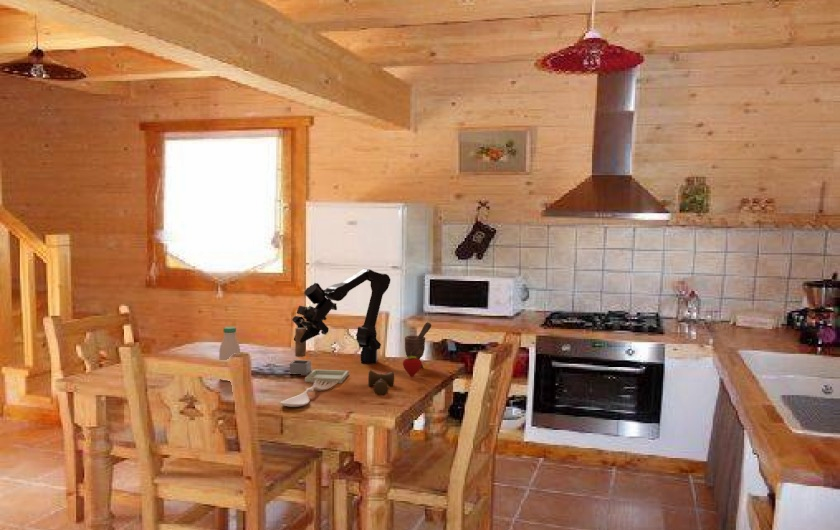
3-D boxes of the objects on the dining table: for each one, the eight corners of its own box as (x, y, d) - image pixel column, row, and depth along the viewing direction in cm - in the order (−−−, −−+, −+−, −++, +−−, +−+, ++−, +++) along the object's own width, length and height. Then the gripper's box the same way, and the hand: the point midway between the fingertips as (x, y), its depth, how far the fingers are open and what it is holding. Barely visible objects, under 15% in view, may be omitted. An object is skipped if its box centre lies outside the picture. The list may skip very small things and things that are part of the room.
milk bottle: (241, 380, 248) (241, 328, 247) (220, 382, 245) (220, 329, 244) (239, 376, 255) (239, 325, 254) (218, 377, 252) (218, 326, 251)
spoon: (338, 388, 240) (338, 379, 240) (300, 412, 209) (300, 402, 209) (316, 386, 243) (316, 377, 242) (274, 409, 212) (274, 399, 212)
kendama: (366, 396, 230) (368, 381, 250) (394, 397, 231) (393, 382, 251) (367, 380, 230) (369, 366, 250) (394, 381, 230) (394, 366, 250)
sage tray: (348, 376, 258) (348, 370, 258) (341, 385, 244) (341, 379, 244) (313, 374, 259) (314, 369, 259) (304, 383, 245) (304, 377, 245)
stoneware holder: (310, 372, 263) (311, 360, 262) (306, 376, 256) (306, 364, 256) (294, 372, 263) (294, 360, 263) (289, 376, 256) (289, 363, 256)
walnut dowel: (306, 355, 261) (306, 327, 260) (304, 357, 257) (304, 329, 256) (296, 354, 261) (296, 327, 260) (294, 356, 257) (294, 329, 256)
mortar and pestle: (433, 366, 277) (434, 320, 276) (429, 371, 269) (430, 323, 267) (406, 365, 279) (407, 319, 278) (402, 369, 271) (403, 322, 270)
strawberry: (420, 379, 255) (421, 353, 254) (401, 378, 256) (402, 353, 255) (422, 375, 261) (422, 350, 260) (403, 374, 262) (403, 350, 261)
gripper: (296, 296, 267) (272, 325, 260) (322, 300, 253) (298, 331, 247) (312, 313, 273) (289, 342, 266) (338, 318, 259) (315, 349, 253)
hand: (297, 341), depth 258 cm, fingers closed on walnut dowel, 4 cm apart
